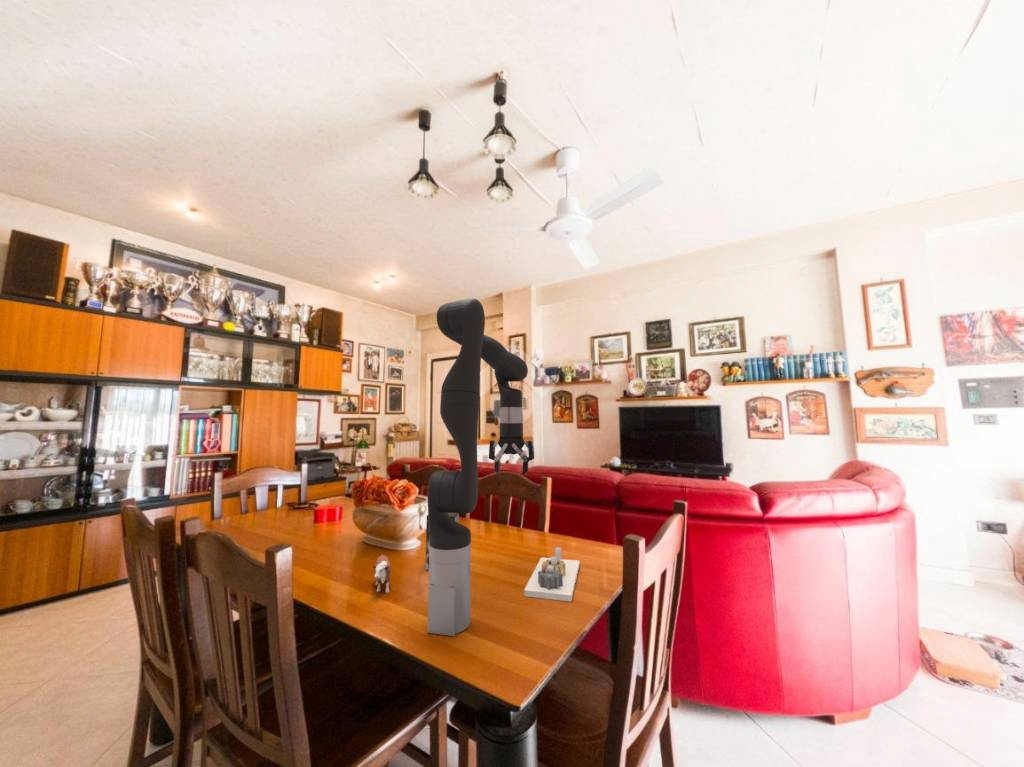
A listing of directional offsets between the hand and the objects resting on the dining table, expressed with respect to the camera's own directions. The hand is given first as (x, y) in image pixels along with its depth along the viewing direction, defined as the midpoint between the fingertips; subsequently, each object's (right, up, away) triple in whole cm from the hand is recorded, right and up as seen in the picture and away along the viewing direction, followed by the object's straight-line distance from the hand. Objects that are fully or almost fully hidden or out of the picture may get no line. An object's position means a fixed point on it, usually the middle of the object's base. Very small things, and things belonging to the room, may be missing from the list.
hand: (511, 473), depth 119 cm
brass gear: (+12, -26, -12) cm, 31 cm away
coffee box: (-21, -28, -2) cm, 36 cm away
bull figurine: (-35, -27, -17) cm, 47 cm away
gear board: (+12, -27, -12) cm, 32 cm away
